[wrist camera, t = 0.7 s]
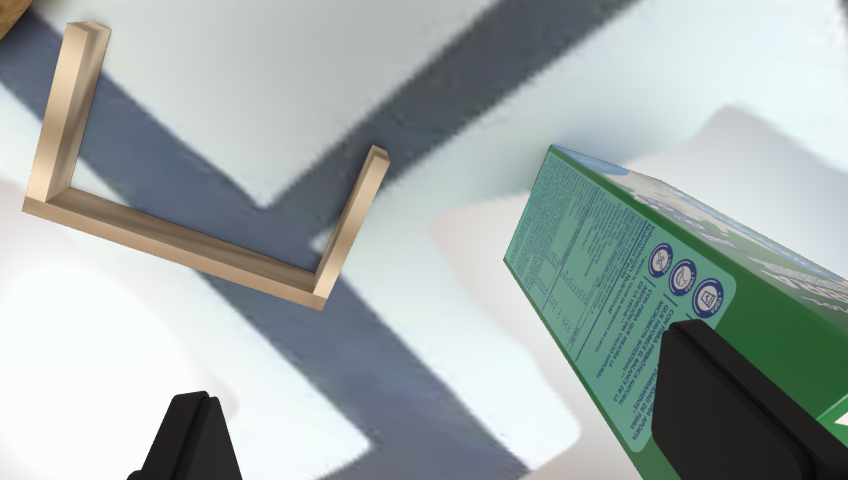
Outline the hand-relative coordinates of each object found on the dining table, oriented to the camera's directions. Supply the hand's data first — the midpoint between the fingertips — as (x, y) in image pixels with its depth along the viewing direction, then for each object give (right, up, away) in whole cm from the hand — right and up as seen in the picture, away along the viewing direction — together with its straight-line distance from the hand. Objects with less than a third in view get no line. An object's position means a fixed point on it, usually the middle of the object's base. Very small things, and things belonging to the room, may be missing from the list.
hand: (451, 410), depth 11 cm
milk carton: (+11, +5, +28) cm, 31 cm away
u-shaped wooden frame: (-13, +8, +23) cm, 28 cm away
